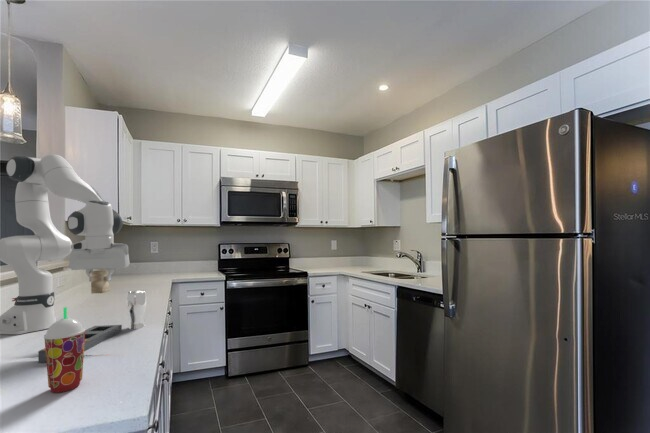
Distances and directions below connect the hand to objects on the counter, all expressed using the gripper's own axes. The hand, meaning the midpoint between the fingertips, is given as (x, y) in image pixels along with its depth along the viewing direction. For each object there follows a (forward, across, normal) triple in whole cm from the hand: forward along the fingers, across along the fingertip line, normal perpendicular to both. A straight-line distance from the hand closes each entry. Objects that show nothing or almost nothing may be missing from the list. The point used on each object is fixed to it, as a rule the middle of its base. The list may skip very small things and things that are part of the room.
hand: (100, 281), depth 127 cm
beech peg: (+4, 0, 0) cm, 4 cm away
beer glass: (+21, -8, -10) cm, 25 cm away
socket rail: (+21, 0, +9) cm, 23 cm away
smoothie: (+21, -16, +41) cm, 49 cm away
